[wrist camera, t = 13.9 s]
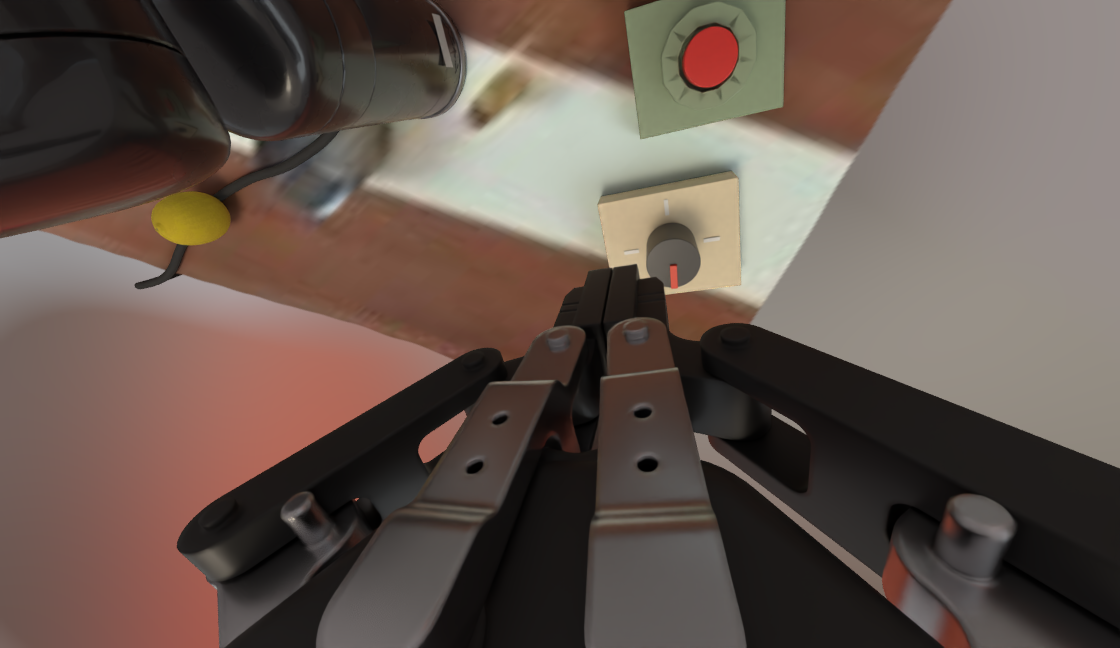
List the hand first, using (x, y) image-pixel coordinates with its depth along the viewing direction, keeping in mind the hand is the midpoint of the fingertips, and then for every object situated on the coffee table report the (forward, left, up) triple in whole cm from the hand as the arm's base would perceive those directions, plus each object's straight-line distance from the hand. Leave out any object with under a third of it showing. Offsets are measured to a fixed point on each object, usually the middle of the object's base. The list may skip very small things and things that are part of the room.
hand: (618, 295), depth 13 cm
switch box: (+6, +6, -29) cm, 30 cm away
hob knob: (+2, -8, -26) cm, 27 cm away
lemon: (-48, +4, -29) cm, 56 cm away
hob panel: (+2, -8, -29) cm, 30 cm away
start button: (+6, +6, -25) cm, 27 cm away
